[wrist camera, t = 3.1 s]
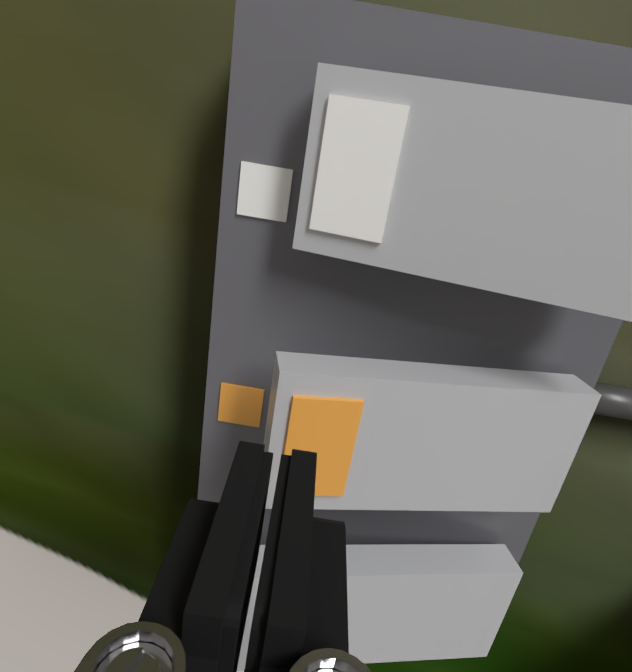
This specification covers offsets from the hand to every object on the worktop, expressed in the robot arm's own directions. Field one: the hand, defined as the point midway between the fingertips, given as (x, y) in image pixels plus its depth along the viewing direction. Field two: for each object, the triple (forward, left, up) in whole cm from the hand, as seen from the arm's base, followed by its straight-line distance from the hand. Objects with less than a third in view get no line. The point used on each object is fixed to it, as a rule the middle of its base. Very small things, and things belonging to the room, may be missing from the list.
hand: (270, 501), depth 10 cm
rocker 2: (-4, 0, -4) cm, 5 cm away
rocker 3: (-4, +7, -4) cm, 9 cm away
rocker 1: (-4, -7, -4) cm, 9 cm away
